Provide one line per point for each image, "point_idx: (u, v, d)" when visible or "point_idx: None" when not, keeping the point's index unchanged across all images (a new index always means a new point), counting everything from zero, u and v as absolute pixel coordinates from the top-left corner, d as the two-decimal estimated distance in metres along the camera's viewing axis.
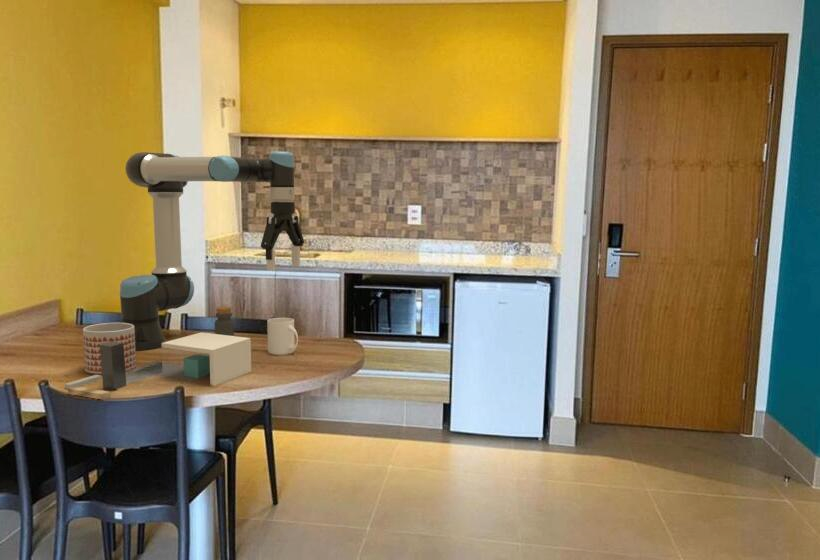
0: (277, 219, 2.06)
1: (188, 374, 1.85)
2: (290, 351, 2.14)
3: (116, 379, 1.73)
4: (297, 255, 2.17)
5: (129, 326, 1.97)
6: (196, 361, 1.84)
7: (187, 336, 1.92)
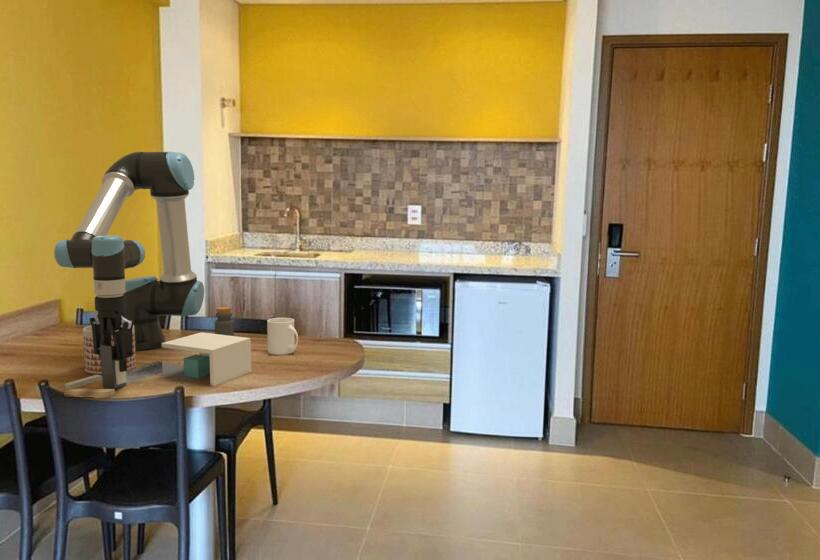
0: None
1: (188, 374, 1.85)
2: (290, 351, 2.14)
3: None
4: None
5: None
6: (196, 361, 1.84)
7: (187, 336, 1.92)
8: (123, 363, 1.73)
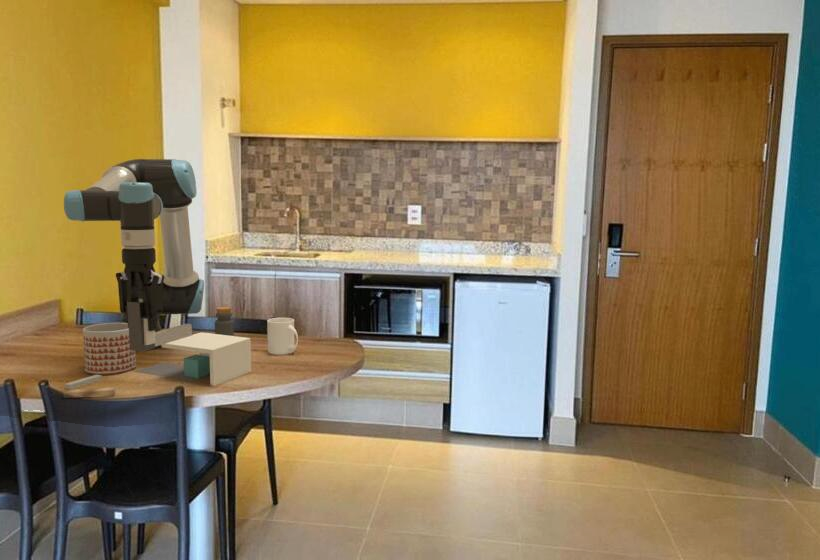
0: None
1: (188, 374, 1.85)
2: (290, 351, 2.14)
3: None
4: None
5: None
6: (196, 361, 1.84)
7: None
8: (152, 321, 1.58)
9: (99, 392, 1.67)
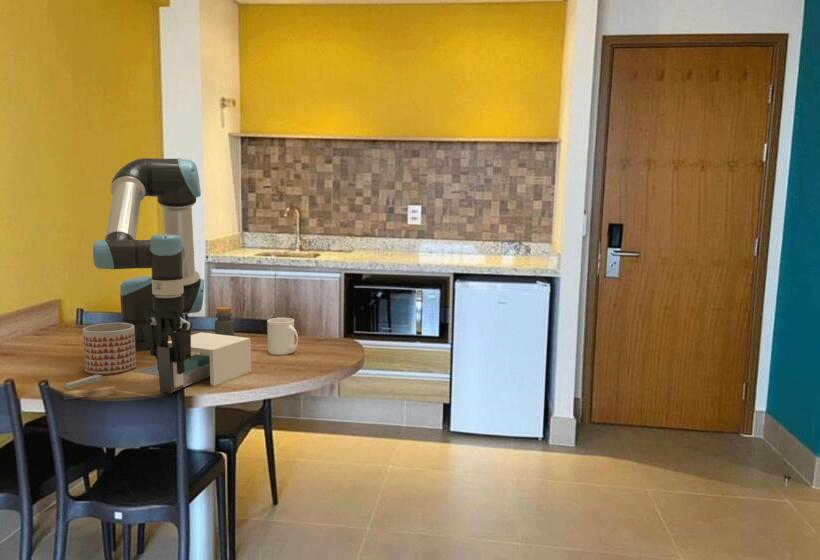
0: None
1: None
2: (290, 351, 2.14)
3: (173, 382, 1.69)
4: None
5: (129, 326, 1.97)
6: (196, 361, 1.84)
7: None
8: (181, 365, 1.68)
9: (101, 391, 1.68)
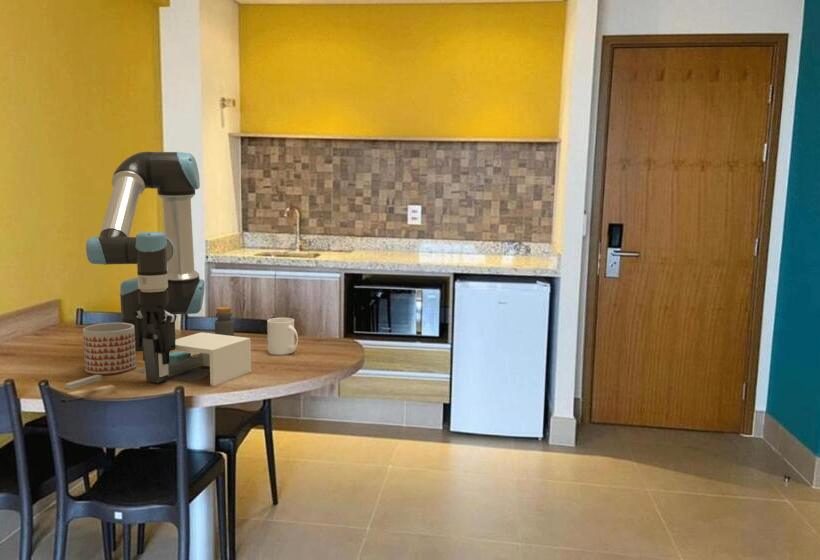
0: None
1: None
2: (290, 351, 2.14)
3: (158, 372, 1.78)
4: None
5: (129, 326, 1.97)
6: (176, 358, 1.87)
7: (187, 336, 1.92)
8: (166, 356, 1.77)
9: (101, 390, 1.69)
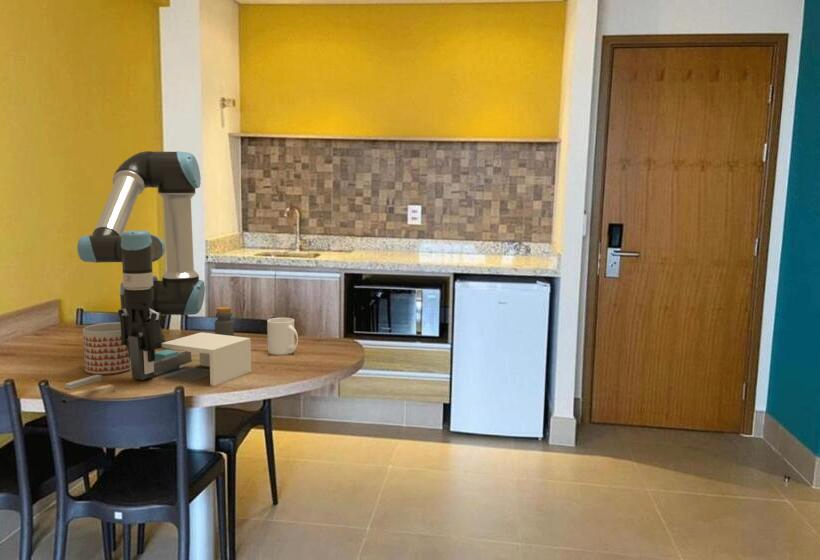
0: None
1: None
2: (290, 351, 2.14)
3: (143, 369, 1.80)
4: None
5: None
6: (163, 356, 1.89)
7: (187, 336, 1.92)
8: (151, 353, 1.79)
9: (102, 390, 1.69)
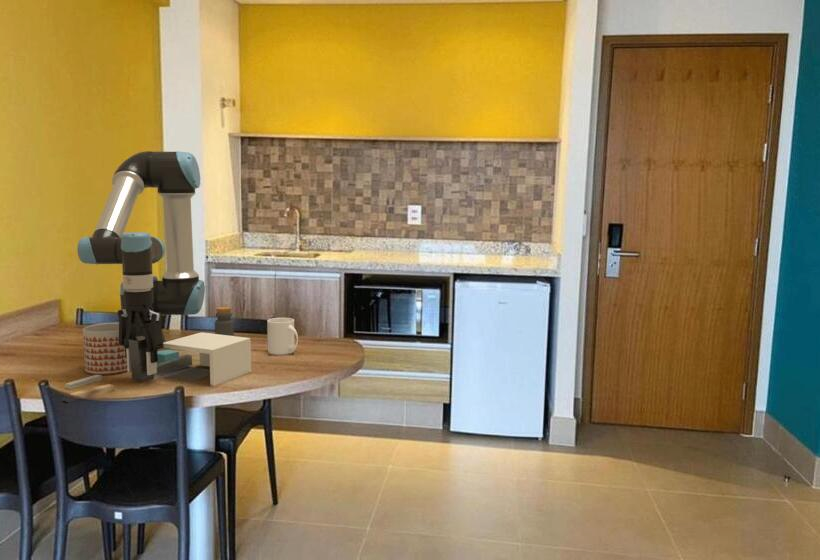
0: None
1: None
2: (290, 351, 2.14)
3: (143, 373, 1.80)
4: None
5: None
6: (163, 356, 1.89)
7: (187, 336, 1.92)
8: (154, 354, 1.79)
9: (101, 390, 1.70)
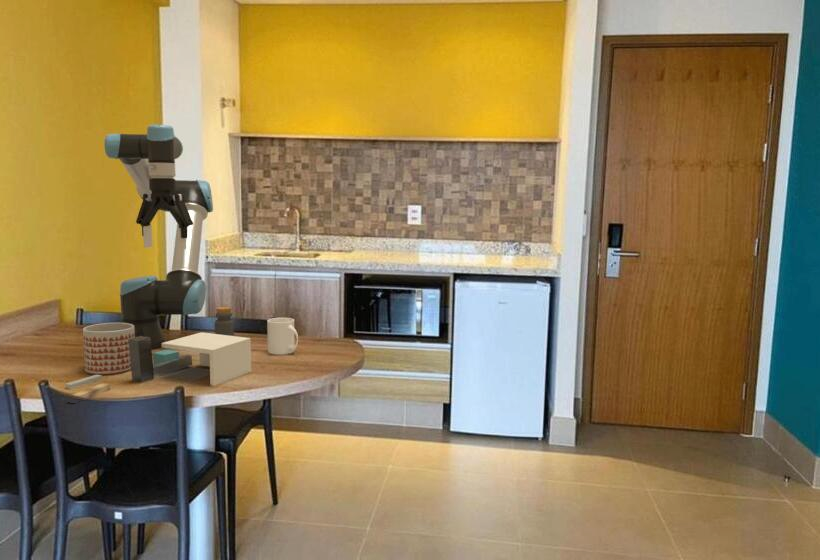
0: None
1: None
2: (290, 351, 2.14)
3: (143, 373, 1.80)
4: None
5: (129, 326, 1.97)
6: (163, 356, 1.89)
7: (187, 336, 1.92)
8: (184, 230, 1.96)
9: (100, 389, 1.70)
